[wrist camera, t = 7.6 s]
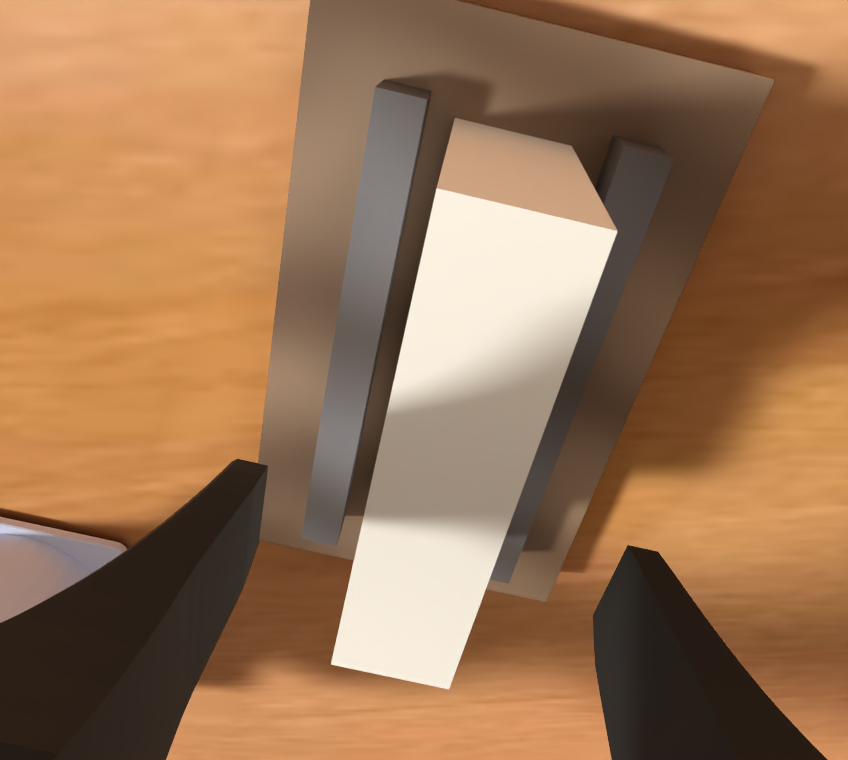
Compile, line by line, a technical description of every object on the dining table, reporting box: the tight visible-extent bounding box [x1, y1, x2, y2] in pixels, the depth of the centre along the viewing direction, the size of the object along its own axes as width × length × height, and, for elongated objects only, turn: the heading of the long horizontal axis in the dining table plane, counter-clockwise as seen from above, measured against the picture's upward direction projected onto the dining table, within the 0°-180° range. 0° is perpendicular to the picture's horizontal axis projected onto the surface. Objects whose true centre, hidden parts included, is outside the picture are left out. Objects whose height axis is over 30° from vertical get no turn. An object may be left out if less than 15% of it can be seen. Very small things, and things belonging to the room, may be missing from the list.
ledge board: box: [258, 0, 775, 602], centre depth 20 cm, size 18×11×3 cm, turn 168°
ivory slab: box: [331, 118, 617, 689], centre depth 17 cm, size 12×3×7 cm, turn 168°
